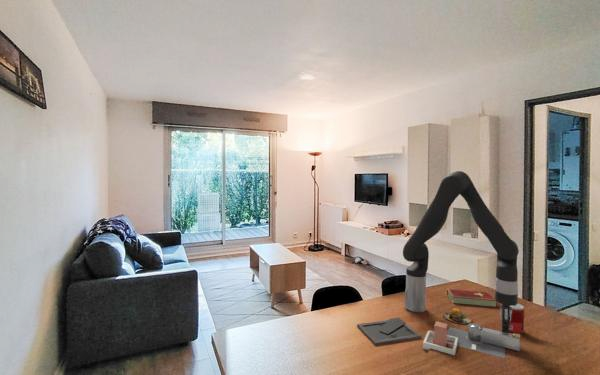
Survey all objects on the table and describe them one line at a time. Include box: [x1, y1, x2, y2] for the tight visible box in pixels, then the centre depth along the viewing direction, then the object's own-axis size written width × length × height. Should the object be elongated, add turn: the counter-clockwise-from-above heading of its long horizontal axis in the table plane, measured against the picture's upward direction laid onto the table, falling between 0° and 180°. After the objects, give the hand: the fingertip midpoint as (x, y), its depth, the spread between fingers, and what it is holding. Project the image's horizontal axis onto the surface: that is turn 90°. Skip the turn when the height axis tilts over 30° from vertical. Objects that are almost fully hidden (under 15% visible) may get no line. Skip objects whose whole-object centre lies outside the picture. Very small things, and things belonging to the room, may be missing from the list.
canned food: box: [500, 303, 525, 335], centre depth 134 cm, size 8×8×11 cm
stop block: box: [433, 320, 448, 347], centre depth 121 cm, size 4×4×8 cm
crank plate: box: [447, 326, 506, 359], centre depth 123 cm, size 20×15×1 cm
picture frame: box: [356, 317, 422, 346], centre depth 132 cm, size 16×2×21 cm
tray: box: [422, 330, 458, 356], centre depth 121 cm, size 11×11×3 cm
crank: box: [467, 322, 521, 352], centre depth 121 cm, size 17×5×6 cm, turn 58°
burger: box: [442, 307, 473, 325], centre depth 143 cm, size 12×12×8 cm
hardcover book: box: [446, 288, 497, 308], centre depth 166 cm, size 12×21×4 cm, turn 77°
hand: (505, 333), depth 123 cm, fingers closed
